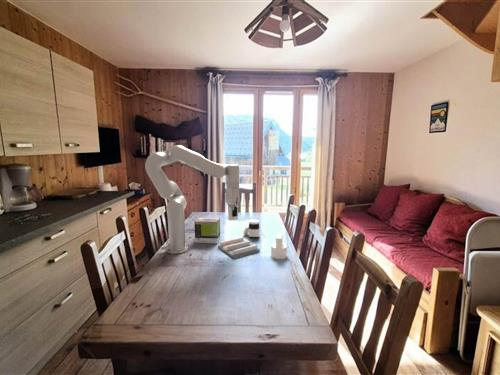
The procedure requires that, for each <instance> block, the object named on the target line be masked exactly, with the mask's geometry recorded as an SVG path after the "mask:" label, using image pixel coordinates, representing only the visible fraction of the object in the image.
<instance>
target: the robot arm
mask: <svg viewBox="0 0 500 375" xmlns="http://www.w3.org/2000/svg"><path fill="white" fill-rule="evenodd" d="M176 162H179V163H182V164H185V165H187V166H189V167H192V168H194V169H196V170H198V171H200V172H202V173H204V174H207V175H209V176H210V177H214V178H217V179H220V178H221V179H222V178H223V177H224V176H225V177H226V178H225V179H226V180H225V182H226V185H225V186H226V188H225V198H224V199H225V201H224V202H225V203H226V204H227V205H228V208H229V207H230V206H231V205H233V210H232V216H233V217H235V216H237V210H238V211H239V208H240V204H241V200H240V198H241V197H240V196H241V195H240V166H239V164H237V163H229V164H227V163H216V162H214V161H212V160H209V159H207V158H205V156H203V155H202V154H200V153H199V152H196V151H193V150H191V149H189V148H187V147H185V146H184V145H182V144H174V145H173V146H171V148H168V149H165V150H162V151H155V152H152V153H150V154H149V155H148V156H147V158H146V160H145V165H144V167H145V172H146V173H147V175H148V177H149V179H150V181H151V182H152V185H153V186H154V188H155V189H156V191H157V193H158V194H159V196H160V197H161V198H162V199H166V200H168V203H167V204H166V215H167V225H168V226H167V228H168V231H167V232H168V242H167V244H166V245H161V246H160V250H164V251H166V252H167V253H168V254H171V255H176V254H177V255H179V254H183V253H186V252H187V251H188V250H189V246H188V245H186V224H185V223H186V222H185V220H186V219H185V209H186V207H187V204H188V203H187V199H186V197H185V196H184V193H183V192H182V190H181V188H180V187H179V185H178V184H177V183H176V182H175V181H173V180H170V179H169V178H168V176H167V174H166V172H164V170H163V169H162V167H164V166H168V165H170V164H173V163H176ZM234 206H235V207H234Z"/></svg>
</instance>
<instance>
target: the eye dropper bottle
mask: <svg viewBox="0 0 500 375" xmlns="http://www.w3.org/2000/svg"><path fill="white" fill-rule="evenodd" d="M234 207H235V206H234ZM232 210H233V205H231V206H230V207H229V208H228V209H227V211H228V212H227V213H228V215H227V218H228V220H229V221H236V220H237V221H238V219H239V209H238V210H237V216H235V217H233V216H232Z"/></svg>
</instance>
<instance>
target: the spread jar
mask: <svg viewBox="0 0 500 375" xmlns="http://www.w3.org/2000/svg"><path fill="white" fill-rule="evenodd" d="M248 221H249V222H248V225H247V226H246V227H245V228H244V229H243V231H242V232H243V233H242V234H243V235H244V236H247V235H248V238H249V239H252V238H257V239H259V238H260V230H261V229H260V227H261V226H260V220H258V219H250V220H248Z"/></svg>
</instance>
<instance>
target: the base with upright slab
mask: <svg viewBox="0 0 500 375" xmlns="http://www.w3.org/2000/svg"><path fill="white" fill-rule="evenodd" d="M270 249H271V250H270V251H271V252H270V254H271V256H270V257H272V258H273V259H276V260H284V259H286V258H287V256H288V245H287V244H286V243H283V233H282V232H277V234H276V237H275V242H274V243H272V244H271V248H270Z"/></svg>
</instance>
